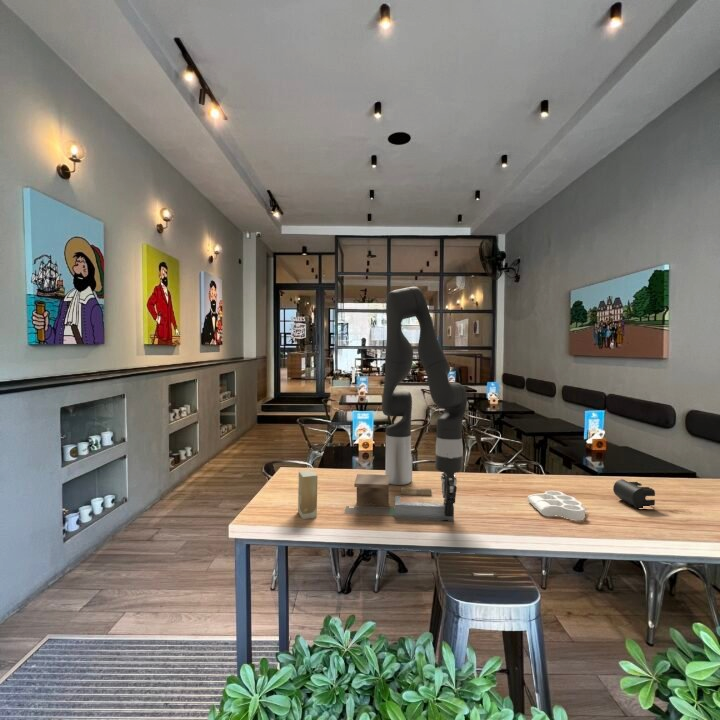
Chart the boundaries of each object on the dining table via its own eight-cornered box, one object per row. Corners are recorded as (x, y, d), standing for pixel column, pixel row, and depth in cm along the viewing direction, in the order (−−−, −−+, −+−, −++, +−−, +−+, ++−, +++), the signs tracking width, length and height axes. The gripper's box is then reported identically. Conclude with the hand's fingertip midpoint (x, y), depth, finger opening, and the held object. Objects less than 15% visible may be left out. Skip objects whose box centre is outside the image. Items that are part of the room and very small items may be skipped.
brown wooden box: (354, 514, 125) (354, 483, 125) (356, 502, 135) (357, 474, 135) (388, 515, 124) (388, 484, 124) (388, 503, 134) (389, 475, 134)
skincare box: (297, 511, 126) (297, 470, 126) (311, 510, 128) (312, 469, 128) (302, 519, 120) (302, 476, 120) (317, 517, 122) (317, 475, 122)
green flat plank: (344, 513, 125) (344, 513, 125) (346, 506, 131) (346, 506, 131) (430, 516, 123) (430, 516, 123) (428, 509, 129) (428, 509, 129)
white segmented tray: (523, 500, 139) (569, 501, 139) (545, 521, 121) (598, 523, 121) (523, 489, 139) (569, 490, 139) (545, 510, 121) (598, 511, 121)
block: (400, 515, 124) (400, 503, 124) (399, 509, 129) (400, 497, 129) (417, 515, 124) (417, 503, 124) (416, 509, 129) (416, 498, 129)
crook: (394, 518, 121) (395, 504, 121) (394, 509, 129) (395, 495, 129) (453, 521, 120) (454, 507, 120) (450, 511, 128) (450, 498, 127)
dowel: (401, 491, 142) (401, 485, 144) (401, 496, 143) (401, 490, 145) (431, 492, 141) (431, 486, 143) (431, 497, 142) (430, 491, 144)
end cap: (612, 499, 140) (612, 479, 140) (634, 499, 140) (634, 479, 140) (632, 510, 130) (632, 488, 130) (655, 510, 130) (656, 488, 130)
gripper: (433, 447, 128) (432, 505, 129) (438, 458, 115) (437, 523, 115) (458, 448, 128) (458, 505, 128) (466, 459, 114) (465, 524, 114)
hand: (448, 513), depth 121 cm, fingers closed on crook, 2 cm apart
